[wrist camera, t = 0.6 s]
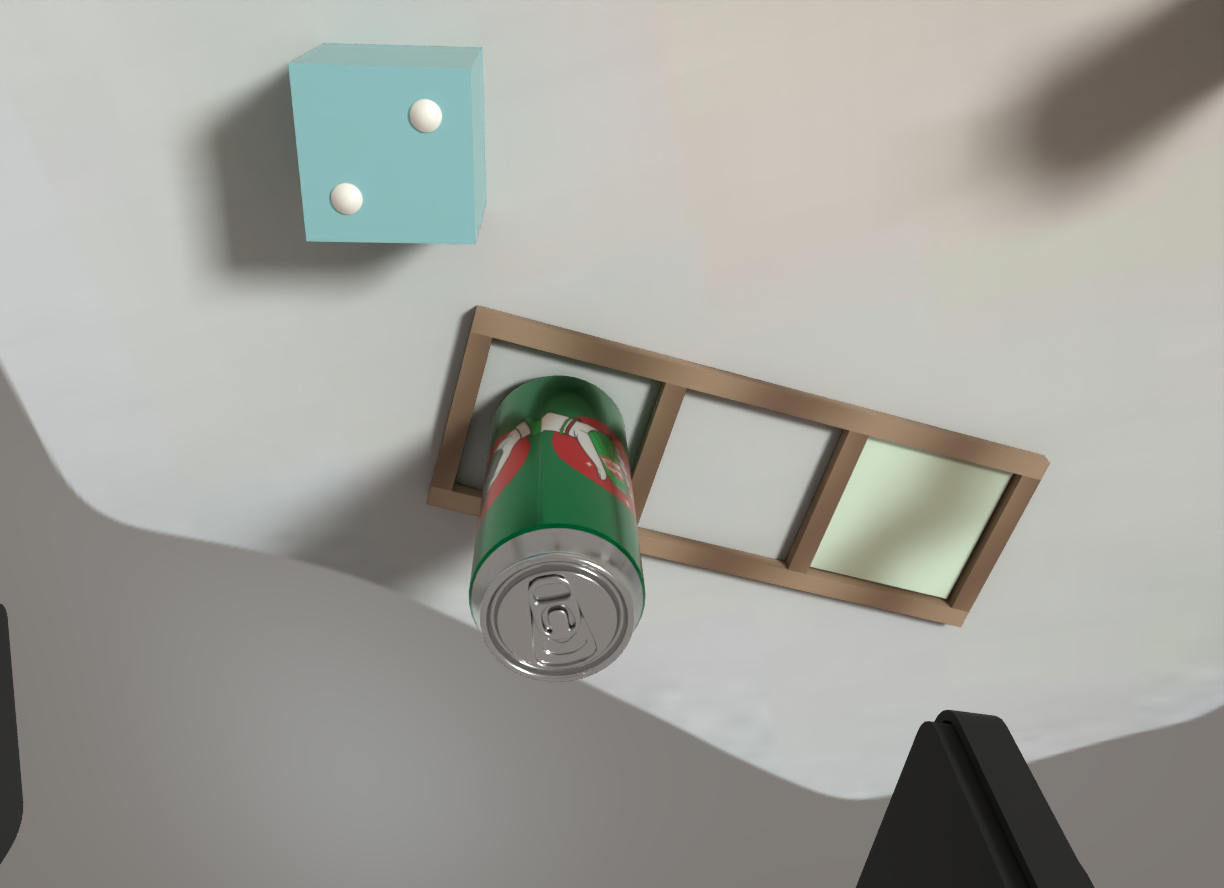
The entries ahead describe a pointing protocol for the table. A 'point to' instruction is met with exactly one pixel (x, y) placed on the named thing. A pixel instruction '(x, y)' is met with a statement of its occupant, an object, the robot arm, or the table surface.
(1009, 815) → the robot arm
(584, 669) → the soda can
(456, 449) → the wooden frame
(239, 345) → the table surface
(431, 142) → the die
